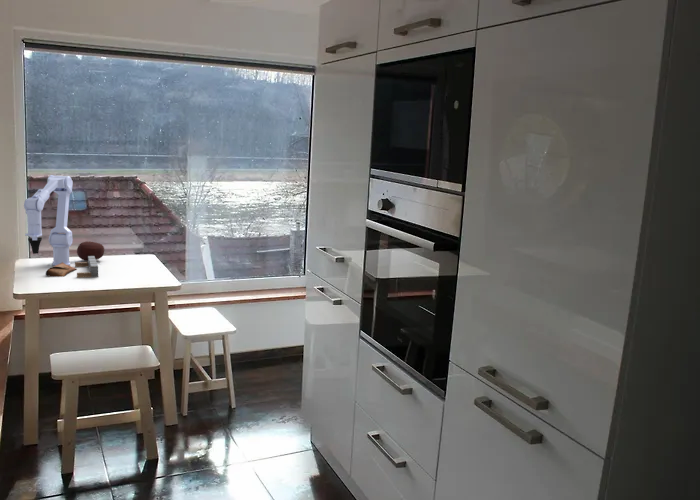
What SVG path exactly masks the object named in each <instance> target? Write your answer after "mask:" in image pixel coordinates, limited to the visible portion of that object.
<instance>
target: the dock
mask: <svg viewBox="0 0 700 500" xmlns="http://www.w3.org/2000/svg"><path fill="white" fill-rule="evenodd" d="M86 267H87V268H88V270H89V271H84V272H83V271H82V272H81V271H80V272H76V278H77V279H78V278H79V279H81V278H84V279H85V278H99V265H98V261H97V260H96V259H95V256H88V261H81V262H78V261H77V262H76V261H75V262H74V268H86Z"/></svg>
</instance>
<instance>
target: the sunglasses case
mask: <svg viewBox="0 0 700 500" xmlns="http://www.w3.org/2000/svg"><path fill="white" fill-rule="evenodd" d="M77 270H78V269H77V267H75V266H71V265H66V264H64V263H63V262H62V263H61V264H58V265H56V266H52V267H49V268H47V270H46V271H45V276H46V277H56V278H57V277H58V278H60V277H61V278H63V277H66V276H67V275H68V274H71V273H72V272H74V271H77Z"/></svg>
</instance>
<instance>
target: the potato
mask: <svg viewBox="0 0 700 500" xmlns="http://www.w3.org/2000/svg"><path fill="white" fill-rule="evenodd" d="M104 254H105V246H104V245H103V243H102V244H101V243H99V242H96V241H88V240H87V241H83V242H80V244H79V245H77V249H76V255H77V256H78V258H79V259H81V260H82V261H84V262H88V256H95V259H96V261H97V260H99V259H102V257H103V256H104Z"/></svg>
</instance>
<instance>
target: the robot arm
mask: <svg viewBox="0 0 700 500" xmlns="http://www.w3.org/2000/svg"><path fill="white" fill-rule="evenodd" d="M46 181H47V182H46V183H45V185H44V187H43V188H39V189H37V191H36V192H35V193H34V194H33V195H32V196H31V197H28V198H27V199H25V200H24V203H23V204H24V205H23V207H24V208H23V209H24V210H25V214H26V217H27V218H26V219H27V233H25V234H24V236H28V238H27V240H28V243H29V244H30V248H31V251H32V254H33V255H34V254H35V255H39V251H40V244H41V241H42V240H43V238H42V236H43V232H42V211H43V209H44V206H45V204H46V202H47V201H48V200H49V198H50V195H51V193H52V192H53V193H55V194H57V207H56V221H55V226H54V227H53V228H51V230H50V233H49V236H48V244H49V245H50V246H51V248H52V254H53V261H52V267H54V266H56V265H58V264H61V263H62V262H63V263H64V264H66V265H69V266H71V261H70V247H71V246H72V244H73V242H74V240H73V239H74V238H73V231H72V230H70V228H68V221H69V219H68V216H69V207H70V206H69V205H70V194H72V193H73V185H74V184H73V183H74V182H73V180H72V177H71V176H69V175H53V174H50V175H49V176H48V177H47V180H46Z"/></svg>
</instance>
